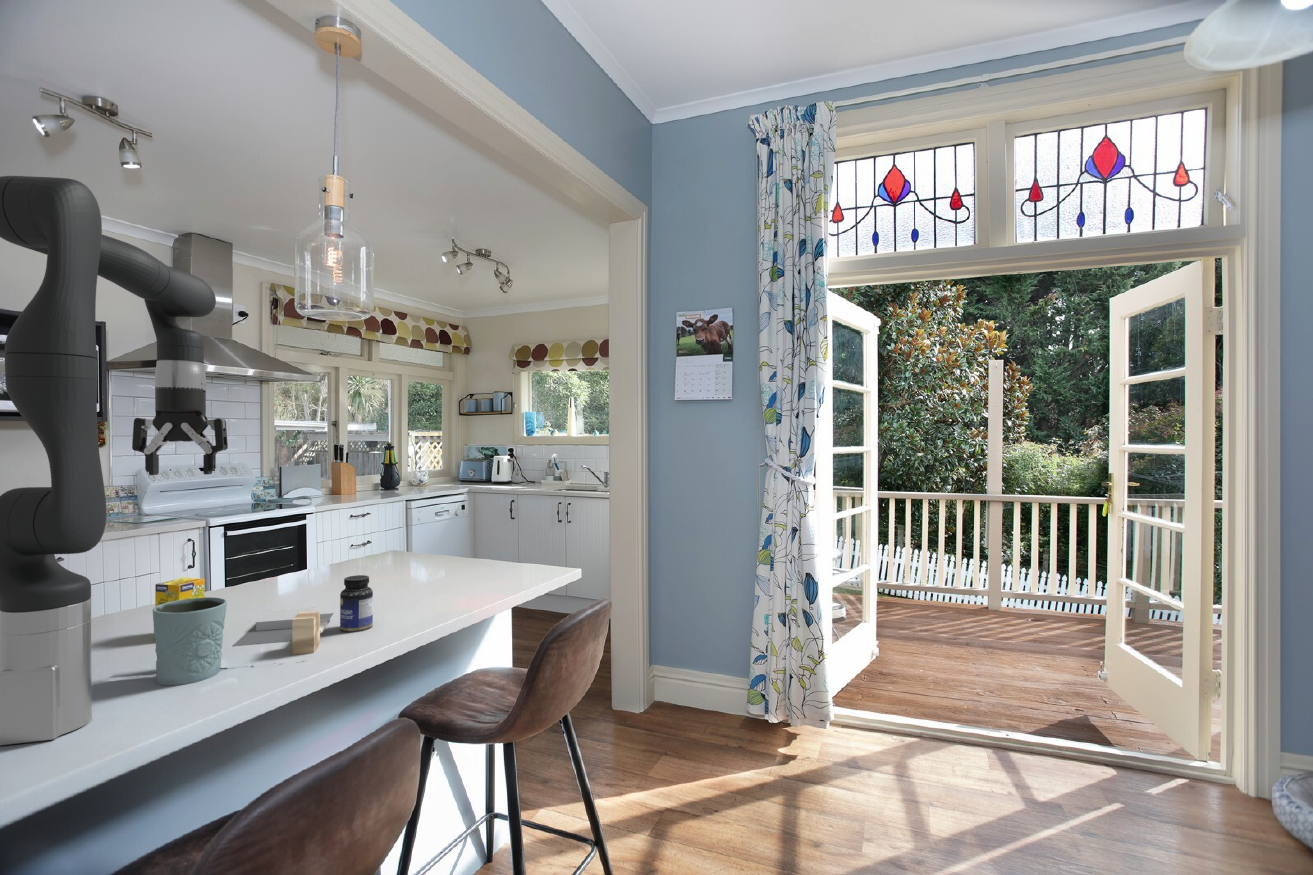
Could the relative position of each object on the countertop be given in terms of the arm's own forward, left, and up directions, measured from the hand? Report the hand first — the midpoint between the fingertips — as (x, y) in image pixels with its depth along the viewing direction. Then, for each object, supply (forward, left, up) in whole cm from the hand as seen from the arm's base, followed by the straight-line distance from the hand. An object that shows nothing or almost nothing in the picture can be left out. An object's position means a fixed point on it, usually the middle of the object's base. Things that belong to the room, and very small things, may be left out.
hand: (181, 474), depth 118 cm
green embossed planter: (-13, -6, -33) cm, 36 cm away
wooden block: (-2, -22, -33) cm, 40 cm away
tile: (+9, -14, -32) cm, 36 cm away
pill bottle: (+6, -29, -33) cm, 44 cm away
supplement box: (+13, +5, -33) cm, 36 cm away
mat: (+10, -15, -33) cm, 38 cm away
